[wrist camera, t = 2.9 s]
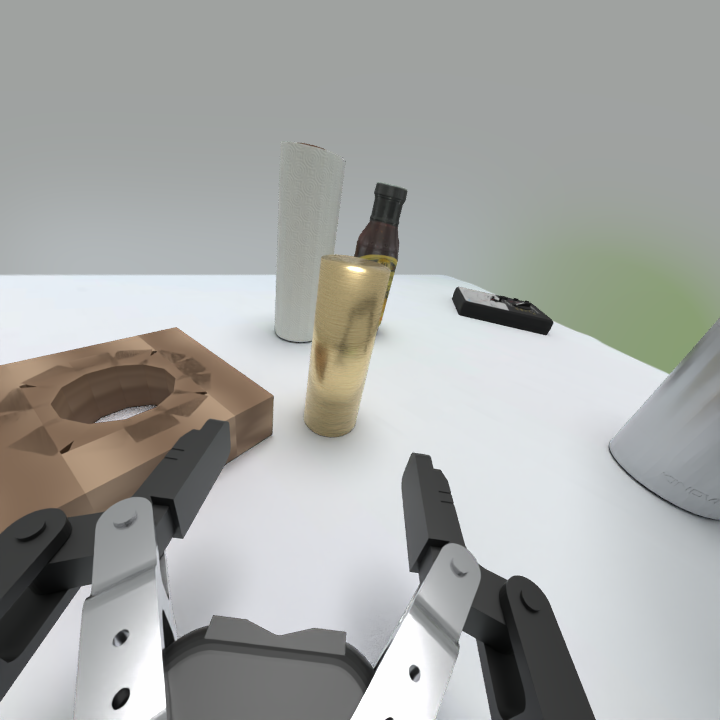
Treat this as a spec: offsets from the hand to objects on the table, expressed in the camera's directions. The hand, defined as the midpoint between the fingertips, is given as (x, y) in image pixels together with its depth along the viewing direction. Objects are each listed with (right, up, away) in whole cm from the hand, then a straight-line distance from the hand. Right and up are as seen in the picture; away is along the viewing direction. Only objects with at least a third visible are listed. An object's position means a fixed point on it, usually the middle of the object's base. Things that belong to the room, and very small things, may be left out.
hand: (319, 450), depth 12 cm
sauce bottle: (+2, +9, +32) cm, 34 cm away
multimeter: (+33, +14, +54) cm, 65 cm away
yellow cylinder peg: (-1, -1, +14) cm, 14 cm away
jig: (-15, -1, +8) cm, 17 cm away
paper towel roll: (-7, +8, +27) cm, 29 cm away
